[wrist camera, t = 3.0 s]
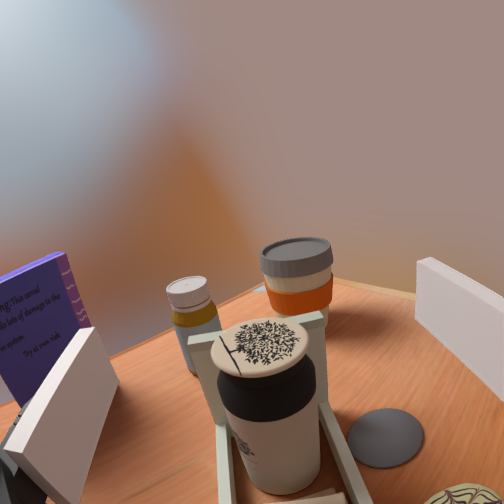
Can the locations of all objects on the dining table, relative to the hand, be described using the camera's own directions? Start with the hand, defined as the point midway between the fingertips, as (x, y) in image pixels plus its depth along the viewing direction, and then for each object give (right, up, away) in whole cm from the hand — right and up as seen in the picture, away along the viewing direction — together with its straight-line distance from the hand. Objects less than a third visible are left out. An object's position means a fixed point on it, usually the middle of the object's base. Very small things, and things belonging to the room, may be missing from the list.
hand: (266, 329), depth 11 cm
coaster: (+15, -18, +17) cm, 29 cm away
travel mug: (+3, -21, +17) cm, 27 cm away
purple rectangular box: (-30, -23, +30) cm, 48 cm away
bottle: (-7, -16, +38) cm, 42 cm away
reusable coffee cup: (+9, -11, +46) cm, 48 cm away
